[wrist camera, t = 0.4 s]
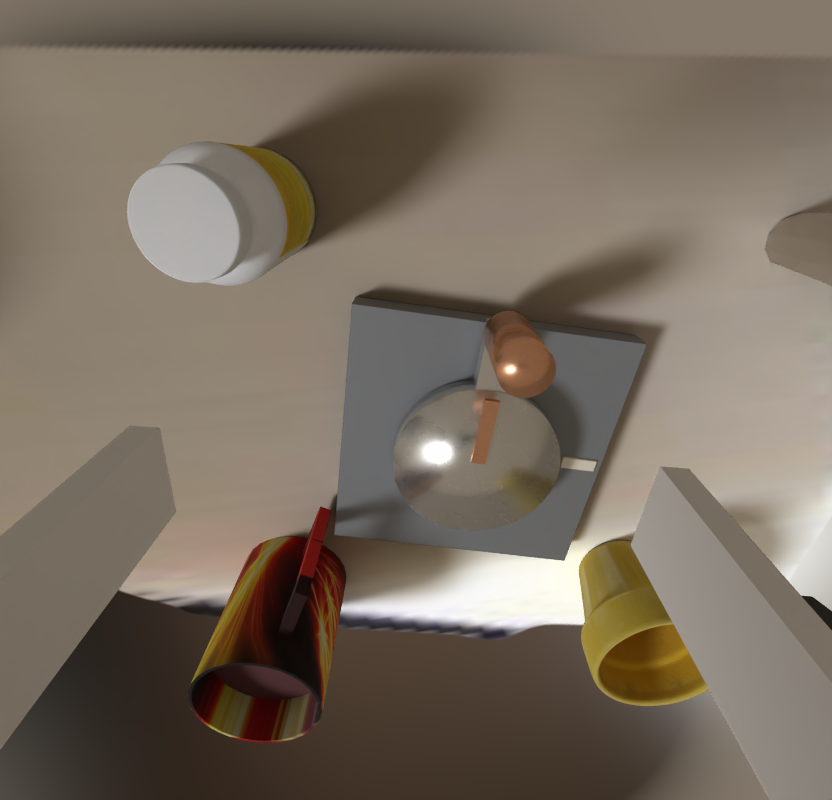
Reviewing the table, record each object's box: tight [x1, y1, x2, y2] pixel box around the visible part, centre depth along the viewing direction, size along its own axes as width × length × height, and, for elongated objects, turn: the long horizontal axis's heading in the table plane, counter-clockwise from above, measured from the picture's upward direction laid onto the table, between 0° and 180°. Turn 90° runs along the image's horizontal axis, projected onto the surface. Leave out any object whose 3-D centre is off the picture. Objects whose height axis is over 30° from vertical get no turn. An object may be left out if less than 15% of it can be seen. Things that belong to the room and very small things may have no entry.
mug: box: [188, 507, 346, 743], centre depth 38 cm, size 10×14×12 cm
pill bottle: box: [127, 142, 317, 285], centre depth 24 cm, size 6×6×12 cm
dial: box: [393, 311, 561, 531], centre depth 30 cm, size 18×12×8 cm
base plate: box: [334, 297, 647, 561], centre depth 36 cm, size 20×20×2 cm
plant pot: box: [579, 541, 709, 706], centre depth 39 cm, size 10×10×10 cm
